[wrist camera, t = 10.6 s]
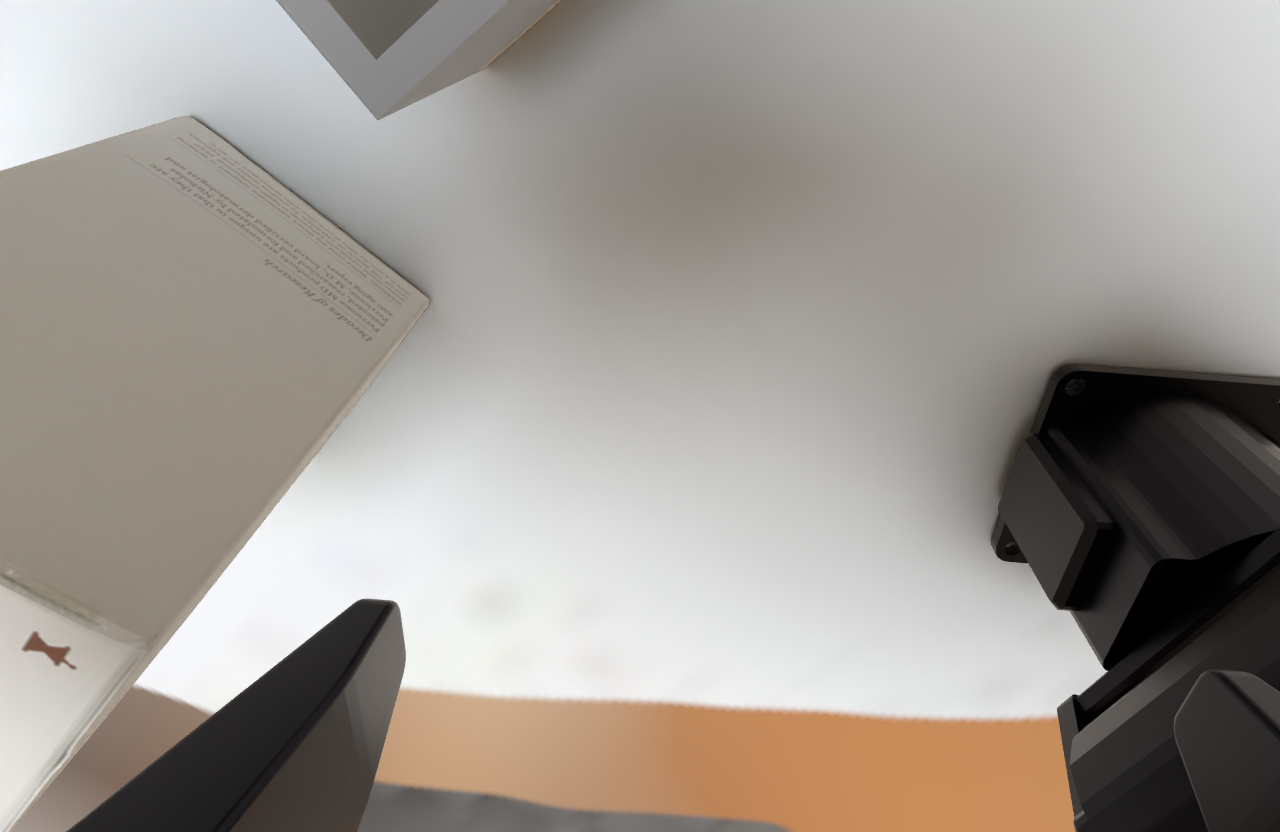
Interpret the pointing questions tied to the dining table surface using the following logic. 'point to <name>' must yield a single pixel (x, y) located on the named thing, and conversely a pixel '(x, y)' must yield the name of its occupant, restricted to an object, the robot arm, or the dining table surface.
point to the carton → (411, 42)
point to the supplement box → (154, 405)
